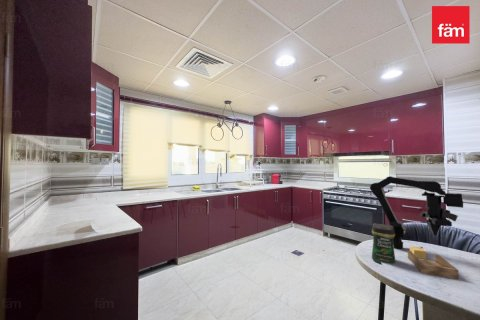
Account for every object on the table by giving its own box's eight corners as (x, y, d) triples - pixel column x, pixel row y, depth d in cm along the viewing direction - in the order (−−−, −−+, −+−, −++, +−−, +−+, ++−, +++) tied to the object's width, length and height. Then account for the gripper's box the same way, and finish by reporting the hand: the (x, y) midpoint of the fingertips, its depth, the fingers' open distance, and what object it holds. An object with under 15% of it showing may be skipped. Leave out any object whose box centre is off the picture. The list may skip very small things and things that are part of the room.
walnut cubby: (421, 275, 88) (421, 264, 88) (407, 259, 102) (407, 250, 102) (458, 281, 83) (458, 270, 83) (438, 264, 98) (438, 254, 98)
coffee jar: (371, 262, 100) (371, 224, 101) (372, 256, 107) (371, 221, 107) (396, 267, 95) (395, 228, 95) (395, 261, 101) (394, 224, 102)
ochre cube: (414, 259, 103) (414, 250, 103) (409, 255, 107) (409, 246, 108) (426, 261, 101) (426, 251, 101) (421, 257, 106) (421, 247, 106)
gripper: (466, 209, 93) (467, 243, 93) (444, 203, 110) (445, 231, 110) (435, 208, 98) (436, 240, 97) (419, 201, 115) (419, 229, 114)
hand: (434, 235), depth 104 cm, fingers closed
